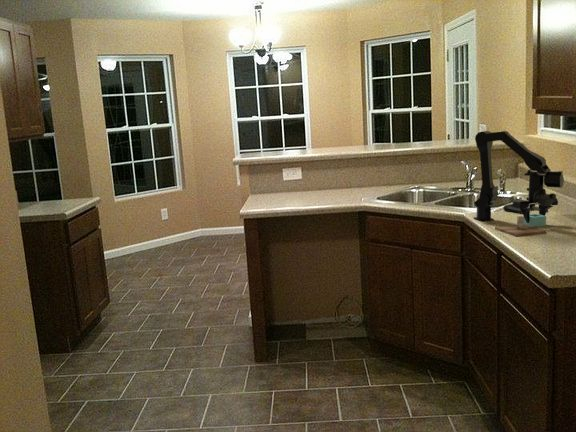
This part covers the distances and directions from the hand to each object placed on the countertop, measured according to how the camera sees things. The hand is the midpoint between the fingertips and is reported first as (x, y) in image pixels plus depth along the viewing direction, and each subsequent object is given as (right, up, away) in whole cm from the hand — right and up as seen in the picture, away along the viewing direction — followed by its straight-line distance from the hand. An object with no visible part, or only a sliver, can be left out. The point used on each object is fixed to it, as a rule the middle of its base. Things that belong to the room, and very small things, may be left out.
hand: (534, 222), depth 253 cm
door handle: (+10, +5, +31) cm, 33 cm away
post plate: (-10, -4, -11) cm, 15 cm away
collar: (0, -1, 0) cm, 1 cm away
